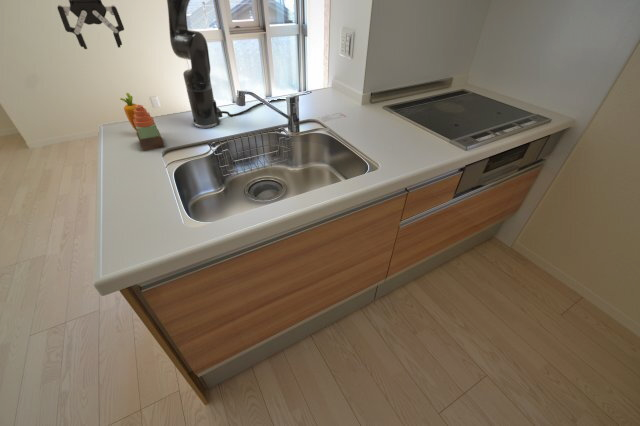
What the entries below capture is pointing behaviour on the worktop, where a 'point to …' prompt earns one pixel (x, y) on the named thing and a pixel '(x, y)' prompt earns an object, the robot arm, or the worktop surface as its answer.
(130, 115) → the carrot
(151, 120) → the cone
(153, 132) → the top block
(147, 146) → the base block
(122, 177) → the worktop surface
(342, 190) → the worktop surface
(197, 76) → the robot arm
